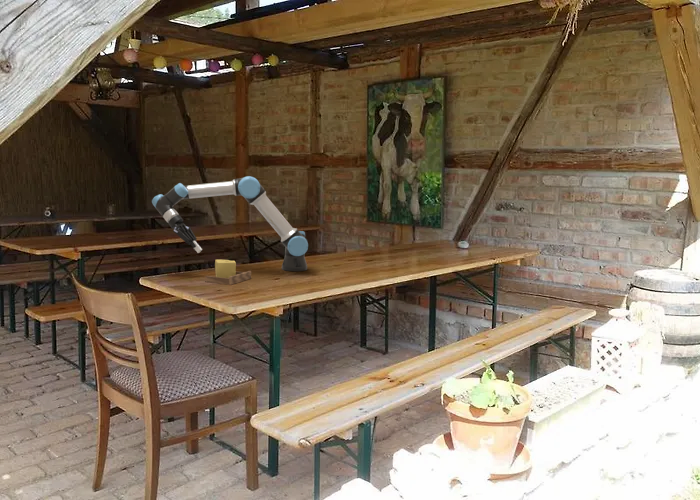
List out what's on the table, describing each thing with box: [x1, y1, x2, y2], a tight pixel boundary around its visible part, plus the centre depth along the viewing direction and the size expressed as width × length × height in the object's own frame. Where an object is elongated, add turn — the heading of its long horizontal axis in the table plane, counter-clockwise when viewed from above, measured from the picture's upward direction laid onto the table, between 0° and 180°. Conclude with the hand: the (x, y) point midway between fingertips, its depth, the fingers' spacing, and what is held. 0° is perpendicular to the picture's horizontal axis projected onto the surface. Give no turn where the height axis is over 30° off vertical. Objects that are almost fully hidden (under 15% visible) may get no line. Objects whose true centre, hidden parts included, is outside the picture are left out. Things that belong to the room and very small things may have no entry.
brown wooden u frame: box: [205, 270, 252, 286], centre depth 324 cm, size 20×15×4 cm
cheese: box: [214, 259, 237, 278], centre depth 326 cm, size 10×11×10 cm
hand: (200, 251), depth 328 cm, fingers closed
